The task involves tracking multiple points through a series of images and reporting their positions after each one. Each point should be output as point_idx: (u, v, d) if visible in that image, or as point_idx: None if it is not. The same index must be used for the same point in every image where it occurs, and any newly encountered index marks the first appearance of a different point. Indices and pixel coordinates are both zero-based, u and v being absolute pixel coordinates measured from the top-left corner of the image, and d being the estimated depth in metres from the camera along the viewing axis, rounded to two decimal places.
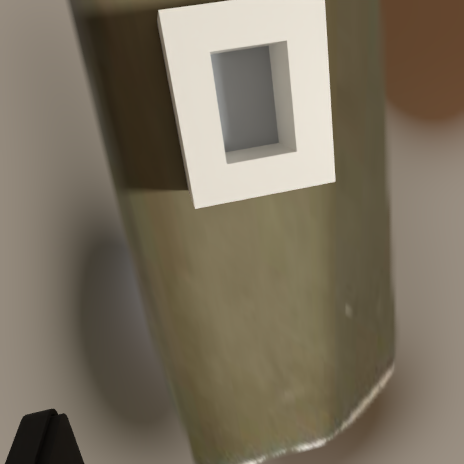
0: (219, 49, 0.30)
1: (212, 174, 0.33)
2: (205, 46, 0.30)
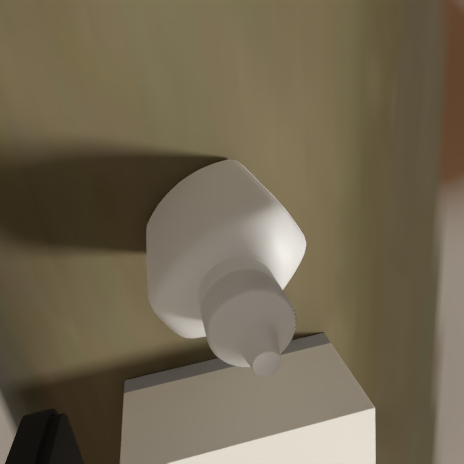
0: None
1: None
2: None
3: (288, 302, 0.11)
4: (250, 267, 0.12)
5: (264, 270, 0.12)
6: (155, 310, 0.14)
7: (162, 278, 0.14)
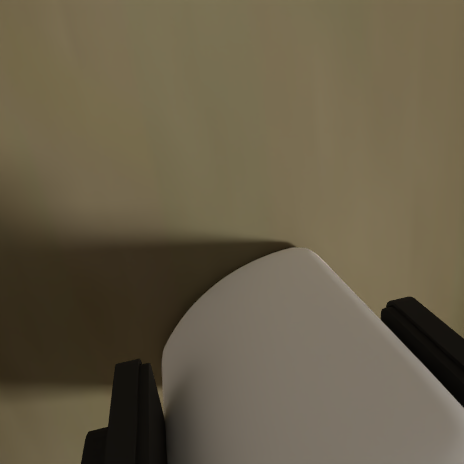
0: None
1: None
2: None
3: None
4: None
5: None
6: None
7: None
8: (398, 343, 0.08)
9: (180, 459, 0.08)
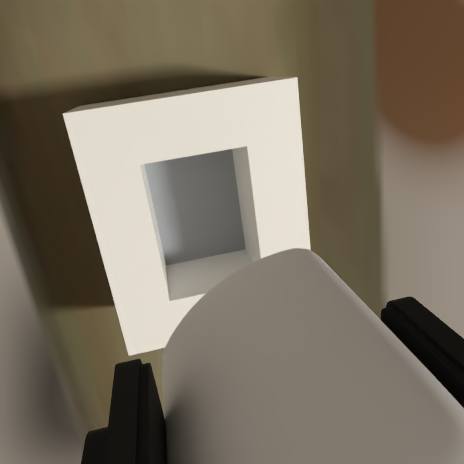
0: (153, 161, 0.22)
1: (150, 314, 0.25)
2: (133, 158, 0.21)
3: None
4: None
5: None
6: None
7: None
8: (399, 345, 0.08)
9: (180, 461, 0.08)
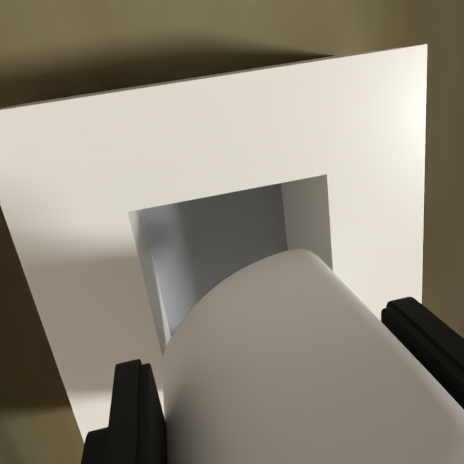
0: (153, 204, 0.11)
1: None
2: (115, 200, 0.11)
3: None
4: None
5: None
6: None
7: None
8: (400, 346, 0.08)
9: (181, 462, 0.08)
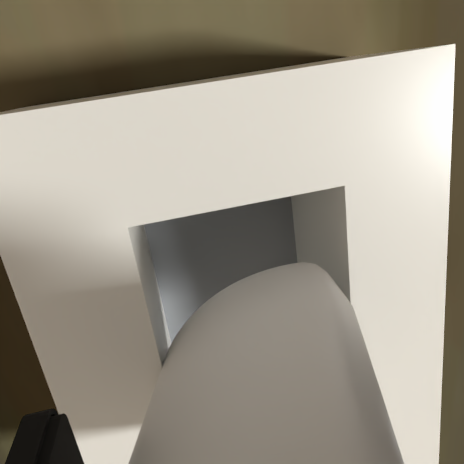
0: (155, 219, 0.10)
1: None
2: (114, 214, 0.10)
3: None
4: None
5: None
6: None
7: None
8: (348, 395, 0.07)
9: (132, 462, 0.09)
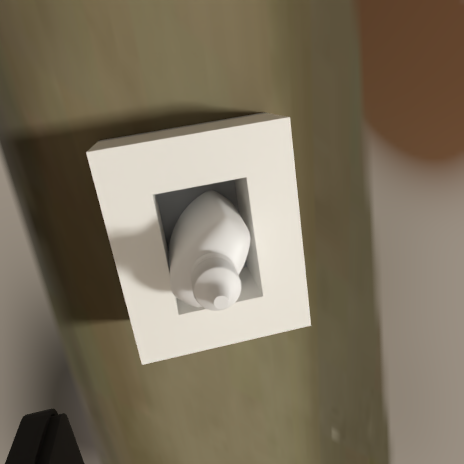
0: (164, 191, 0.25)
1: (161, 326, 0.27)
2: (146, 189, 0.25)
3: (231, 270, 0.21)
4: (211, 257, 0.22)
5: (219, 257, 0.22)
6: (175, 295, 0.24)
7: (173, 277, 0.24)
8: (219, 207, 0.25)
9: (170, 263, 0.26)
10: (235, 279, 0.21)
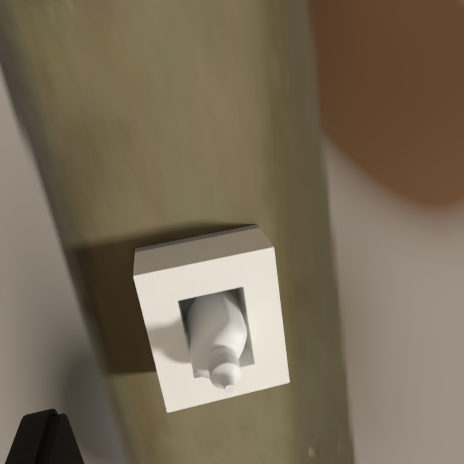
0: (185, 298, 0.35)
1: (181, 386, 0.38)
2: (173, 297, 0.35)
3: (235, 364, 0.32)
4: (221, 352, 0.33)
5: (227, 352, 0.33)
6: None
7: (194, 360, 0.35)
8: (225, 307, 0.36)
9: (190, 344, 0.37)
10: (238, 370, 0.32)
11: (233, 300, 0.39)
